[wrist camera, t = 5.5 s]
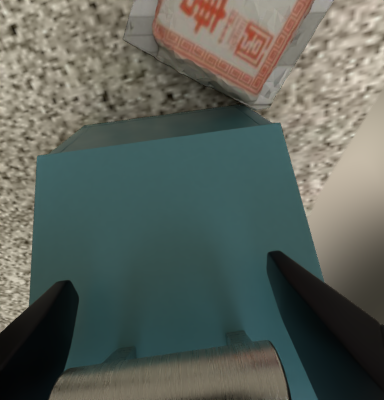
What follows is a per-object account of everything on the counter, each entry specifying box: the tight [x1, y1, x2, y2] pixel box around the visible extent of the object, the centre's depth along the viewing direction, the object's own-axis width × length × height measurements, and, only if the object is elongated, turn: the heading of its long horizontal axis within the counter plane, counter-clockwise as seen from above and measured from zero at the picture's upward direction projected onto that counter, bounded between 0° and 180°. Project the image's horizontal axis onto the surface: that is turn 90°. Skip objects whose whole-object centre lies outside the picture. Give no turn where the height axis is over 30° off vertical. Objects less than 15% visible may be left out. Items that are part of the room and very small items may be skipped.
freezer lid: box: [29, 123, 324, 400], centre depth 8 cm, size 13×11×5 cm
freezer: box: [49, 104, 273, 154], centre depth 18 cm, size 12×11×6 cm
